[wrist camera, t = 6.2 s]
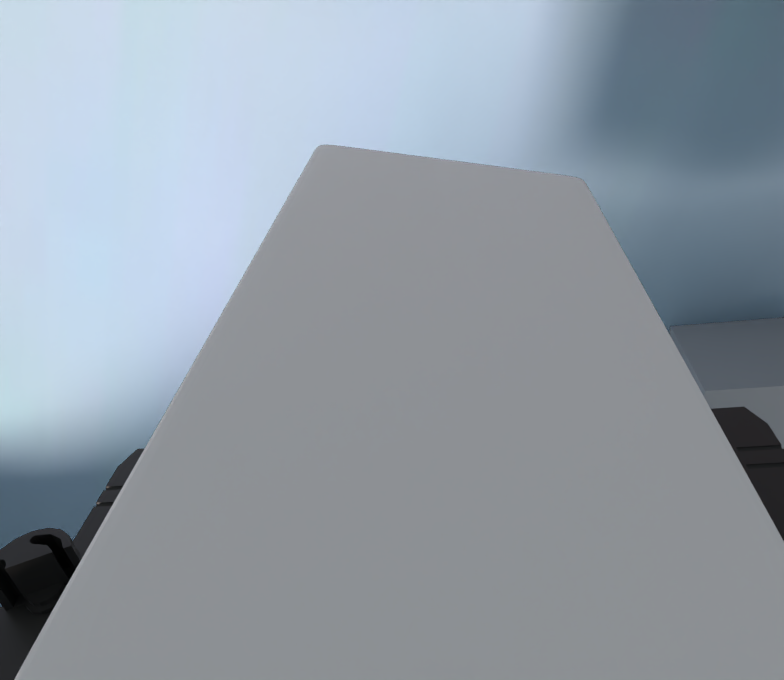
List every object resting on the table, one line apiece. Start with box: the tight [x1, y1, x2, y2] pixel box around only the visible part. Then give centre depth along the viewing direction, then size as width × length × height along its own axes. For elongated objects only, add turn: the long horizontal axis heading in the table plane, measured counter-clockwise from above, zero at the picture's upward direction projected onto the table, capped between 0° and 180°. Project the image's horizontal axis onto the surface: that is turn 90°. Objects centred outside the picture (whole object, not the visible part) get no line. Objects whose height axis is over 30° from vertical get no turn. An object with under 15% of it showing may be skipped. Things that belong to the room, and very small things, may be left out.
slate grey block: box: [669, 317, 784, 449], centre depth 29 cm, size 5×5×5 cm
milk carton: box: [14, 145, 784, 680], centre depth 11 cm, size 7×7×19 cm
